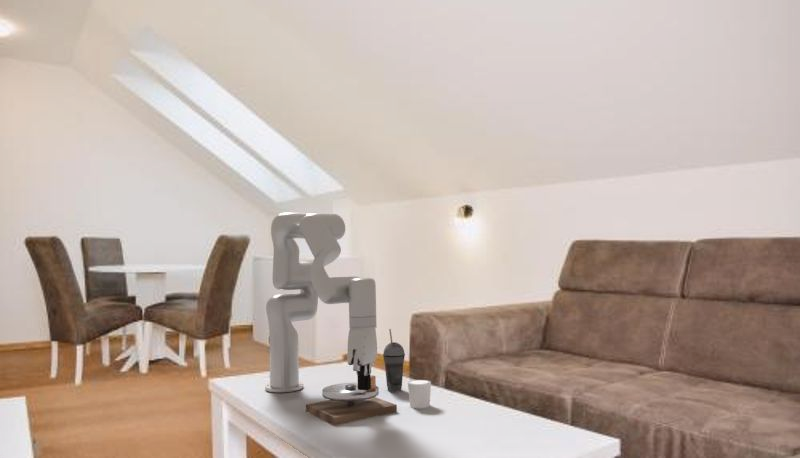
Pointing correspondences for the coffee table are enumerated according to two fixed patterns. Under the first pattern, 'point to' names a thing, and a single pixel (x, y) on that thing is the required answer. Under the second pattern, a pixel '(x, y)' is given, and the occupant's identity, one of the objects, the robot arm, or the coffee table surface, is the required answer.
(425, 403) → the white faceted cup
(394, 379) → the beverage cup
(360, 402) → the wheel base
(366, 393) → the handwheel
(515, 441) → the coffee table surface
